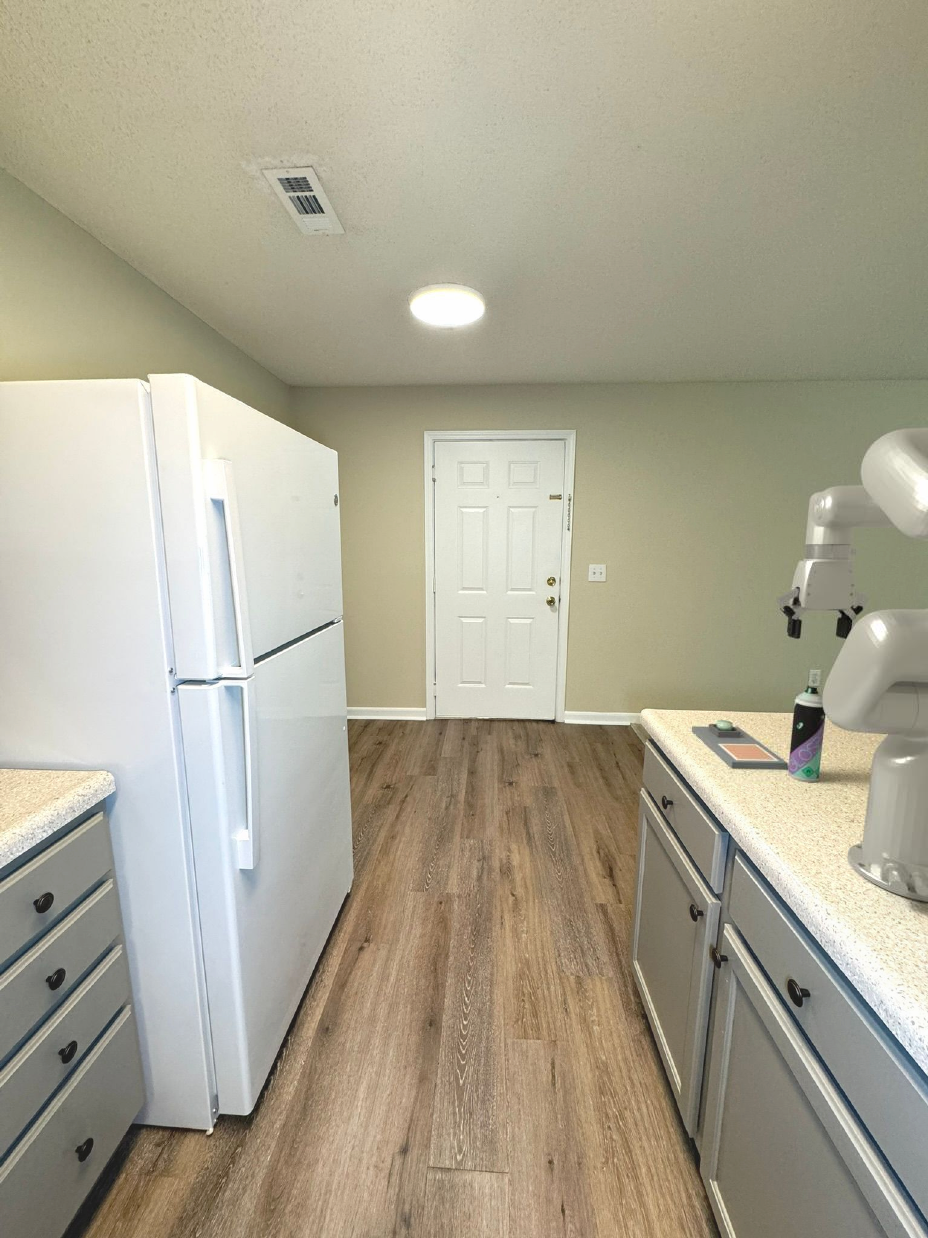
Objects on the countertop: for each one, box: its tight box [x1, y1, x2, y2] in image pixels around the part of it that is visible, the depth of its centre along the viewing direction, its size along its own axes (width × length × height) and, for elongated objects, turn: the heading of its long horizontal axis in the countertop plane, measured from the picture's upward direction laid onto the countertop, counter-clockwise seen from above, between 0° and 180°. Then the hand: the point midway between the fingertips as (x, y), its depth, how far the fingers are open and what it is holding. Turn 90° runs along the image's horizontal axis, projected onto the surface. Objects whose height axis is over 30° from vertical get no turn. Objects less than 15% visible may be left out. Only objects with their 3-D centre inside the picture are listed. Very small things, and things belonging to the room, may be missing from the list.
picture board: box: [691, 723, 789, 770], centre depth 120 cm, size 22×12×3 cm, turn 177°
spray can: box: [787, 685, 826, 783], centre depth 104 cm, size 6×6×20 cm
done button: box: [716, 719, 734, 731], centre depth 126 cm, size 4×4×2 cm
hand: (818, 637), depth 101 cm, fingers open, 9 cm apart
